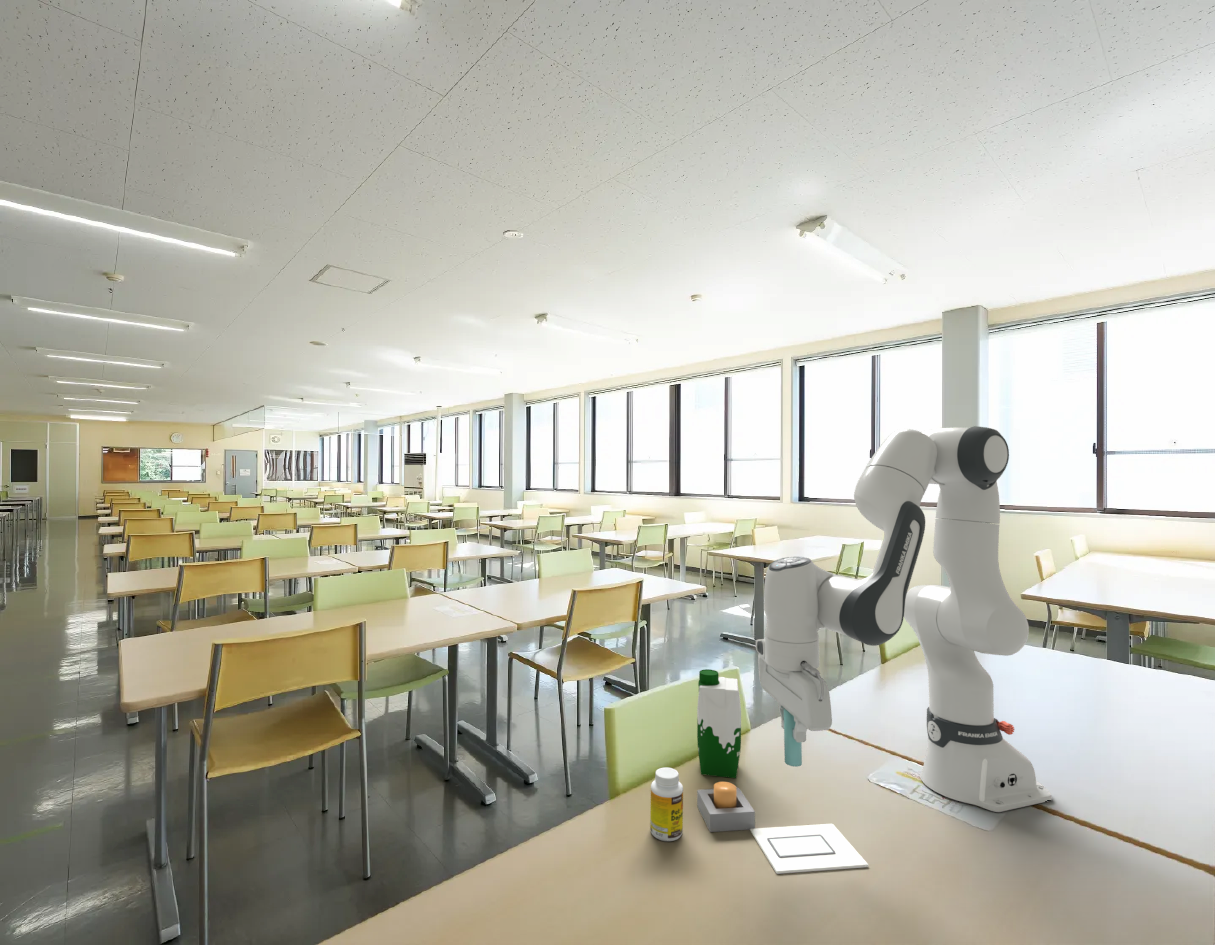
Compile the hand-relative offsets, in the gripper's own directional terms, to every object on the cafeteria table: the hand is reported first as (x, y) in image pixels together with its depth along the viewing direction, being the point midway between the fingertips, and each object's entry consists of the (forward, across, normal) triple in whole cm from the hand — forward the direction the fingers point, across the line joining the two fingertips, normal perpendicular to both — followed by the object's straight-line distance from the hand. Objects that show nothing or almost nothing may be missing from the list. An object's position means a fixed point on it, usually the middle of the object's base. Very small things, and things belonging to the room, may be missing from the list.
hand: (793, 735), depth 98 cm
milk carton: (+17, +24, +5) cm, 30 cm away
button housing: (+17, +7, +10) cm, 21 cm away
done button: (+15, +7, +10) cm, 19 cm away
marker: (+5, 0, 0) cm, 5 cm away
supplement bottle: (+17, +4, +22) cm, 28 cm away
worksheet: (+17, -3, 0) cm, 17 cm away
